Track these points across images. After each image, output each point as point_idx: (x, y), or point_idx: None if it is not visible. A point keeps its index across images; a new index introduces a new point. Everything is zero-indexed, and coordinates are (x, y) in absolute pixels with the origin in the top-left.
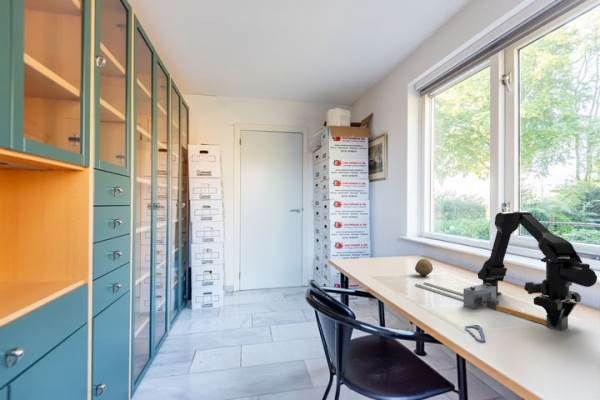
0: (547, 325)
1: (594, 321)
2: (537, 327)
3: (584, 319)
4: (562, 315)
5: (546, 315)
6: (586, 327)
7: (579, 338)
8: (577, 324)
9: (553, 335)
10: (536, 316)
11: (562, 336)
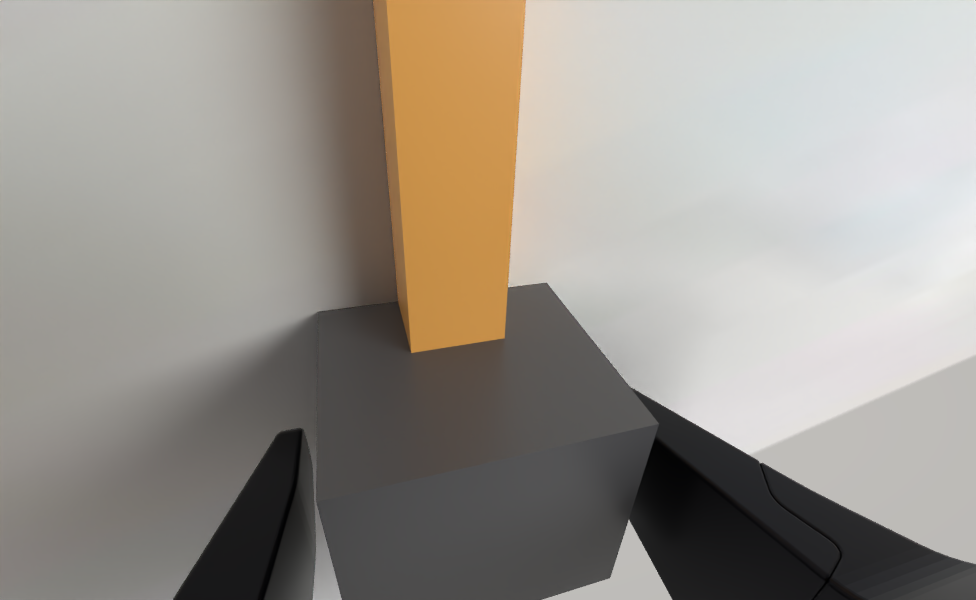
0: (318, 337)
1: (932, 373)
2: (47, 286)
3: (951, 324)
4: (591, 550)
5: (318, 479)
6: (718, 436)
7: (315, 582)
8: (753, 378)
9: (20, 526)
10: (462, 110)
11: (149, 550)
